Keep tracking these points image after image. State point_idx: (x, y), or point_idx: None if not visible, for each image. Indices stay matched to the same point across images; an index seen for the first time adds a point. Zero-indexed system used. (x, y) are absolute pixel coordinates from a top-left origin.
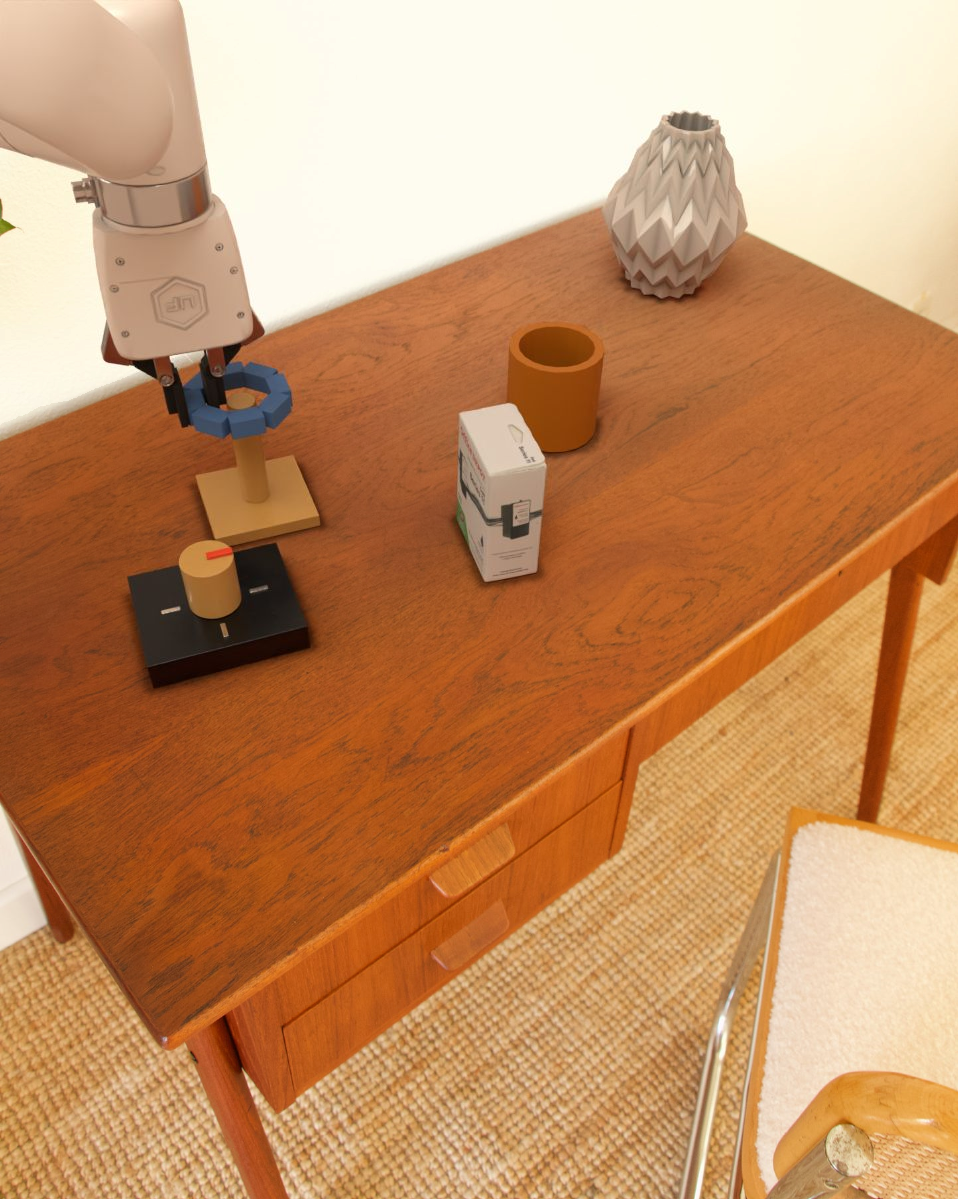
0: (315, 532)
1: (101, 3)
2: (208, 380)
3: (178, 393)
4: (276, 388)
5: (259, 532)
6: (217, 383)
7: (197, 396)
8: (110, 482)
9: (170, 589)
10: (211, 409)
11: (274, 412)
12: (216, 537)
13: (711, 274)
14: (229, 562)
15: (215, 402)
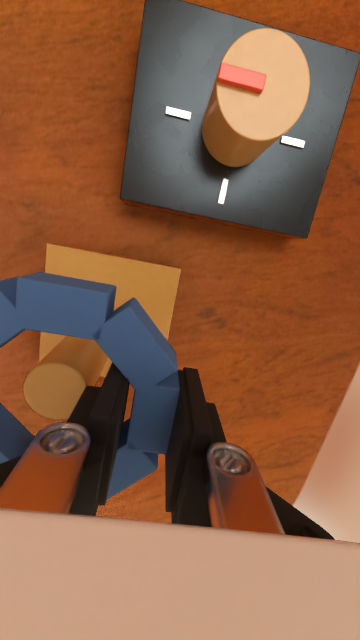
0: (63, 235)
1: None
2: (108, 420)
3: (200, 416)
4: None
5: (127, 258)
6: (86, 420)
7: (141, 423)
8: (235, 421)
9: (274, 185)
10: (130, 366)
11: None
12: (178, 271)
13: None
14: (234, 48)
15: (114, 378)
